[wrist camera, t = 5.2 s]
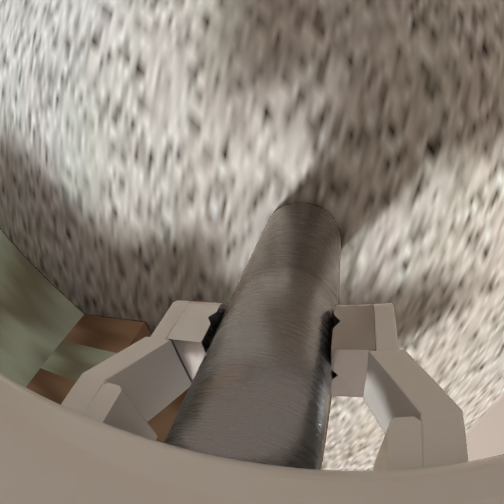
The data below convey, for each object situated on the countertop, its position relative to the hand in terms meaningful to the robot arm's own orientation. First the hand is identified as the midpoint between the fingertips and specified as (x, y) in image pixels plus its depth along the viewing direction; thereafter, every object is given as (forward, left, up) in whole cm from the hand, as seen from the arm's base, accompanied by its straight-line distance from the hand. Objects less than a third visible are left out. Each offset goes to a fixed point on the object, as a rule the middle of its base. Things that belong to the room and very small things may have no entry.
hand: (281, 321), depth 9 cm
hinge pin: (0, 0, -5) cm, 5 cm away
